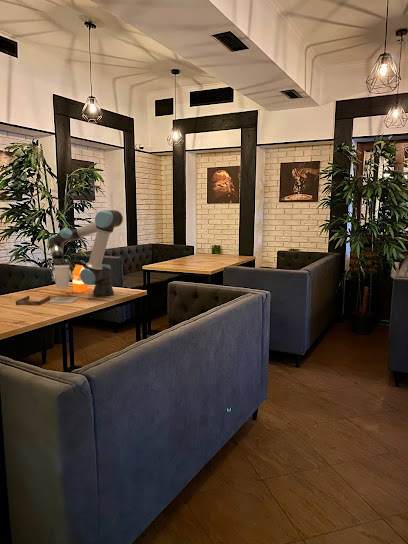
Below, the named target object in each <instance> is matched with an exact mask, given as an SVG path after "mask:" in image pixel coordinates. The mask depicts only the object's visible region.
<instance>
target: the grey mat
mask: <svg viewBox="0 0 408 544" xmlns="http://www.w3.org/2000/svg"><path fill="white" fill-rule="evenodd" d="M78 299H80V297H75V296H74V297H72V296H71V297H69V296H67V297H65V296H64V297H63V296H62V297H61V296H57V297H55V298H52V299H51V300H49V301H47V303H48V304H49V303H50V304H72V303H73V302H76V301H77V300H78Z"/></svg>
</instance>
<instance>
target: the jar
mask: <svg viewBox="0 0 408 544" xmlns="http://www.w3.org/2000/svg"><path fill="white" fill-rule="evenodd" d="M69 267H70V266H69V265H68V264H67V265H56V266H54V268H55V269H54V270H53V271H54V274H55V281H54V282H55V285H56V286H55V288H56V289H65V288H69V287H70V286H69V283H70V270H69Z"/></svg>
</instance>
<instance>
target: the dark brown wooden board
mask: <svg viewBox="0 0 408 544" xmlns="http://www.w3.org/2000/svg"><path fill="white" fill-rule="evenodd" d="M30 298H31V297H30V295H27V296H24V297H22V298H19V299H18V300H15V305H16V306H40V305H43V304H44V303H48V302H49V301H51V300H52V298H51V296H49V295H48V296H47V297H44V298H42V299H40V300H30Z"/></svg>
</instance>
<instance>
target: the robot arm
mask: <svg viewBox="0 0 408 544" xmlns="http://www.w3.org/2000/svg"><path fill="white" fill-rule="evenodd" d="M123 221H124V216H123V214H122V212H120V211H119V210H115V209H113V210H111V209H103V210H99V211H98V212H97V213H96V214H95V216H94V221H92V222H90V223H88V224H86V225H83V226H80V227H78V228H75V229H70V228H68V227H63V228H62V229H61V230H60V231H59V232H57V234H53V235H51V236H49V237H48V245H49V249H50V253H51V258H52V260H51V259H48V266H47V274H48V273H49V274H50V277H52V279H53V282H55V274H54V269H55V268H54V266H56V265H69V266H70V267H69V270H70V279H69V281H70V280H71V281H73V276H72V274H73V273H72V272H73V271H74V268H75V267H74V265H72V262H71V261H70V259H69V258H67V259H66V258H65V257H64V253H63V248H62V245H64V243H66V242H67V241H79V240H81V239H83V238H85V237H87V236H88V237H89V236H90V235H94V234H95V233H96V234H95V238H94V243H93V246H92V249H91V253H90V257H89V260H88V262H86V263H85V266H84V268H85V269H83V270H82V271H81V272H80V278H81V280H82V282H83V283H84V284H86V285H88V286H90V285H91V286H92V285H94V287H93V290H92V291H93V292H92V296H93V297H96V298H106V296H108V297H112V296H114V295H115V292H114V289H113V288H114V287H113V285H112V267H111V265H110V264H103V260H104V256H105V253H106V249H107V246H108V242H109V238H110V234H112V233H113V232H114V229H115V228H116V227H119V226H121V225H122V223H123ZM52 263H53V265H52V267H51V264H52ZM113 294H114V295H113ZM111 295H112V296H111Z"/></svg>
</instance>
